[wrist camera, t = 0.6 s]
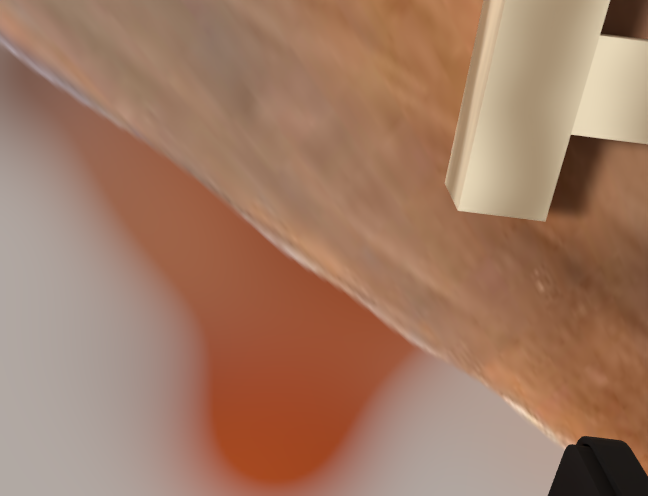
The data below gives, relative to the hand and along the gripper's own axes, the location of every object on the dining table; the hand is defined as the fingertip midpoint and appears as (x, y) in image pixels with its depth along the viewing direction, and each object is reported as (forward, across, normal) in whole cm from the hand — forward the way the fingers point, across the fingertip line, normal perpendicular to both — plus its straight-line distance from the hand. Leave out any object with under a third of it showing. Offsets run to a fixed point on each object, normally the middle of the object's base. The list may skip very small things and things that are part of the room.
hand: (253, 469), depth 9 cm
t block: (+22, -13, -4) cm, 26 cm away
